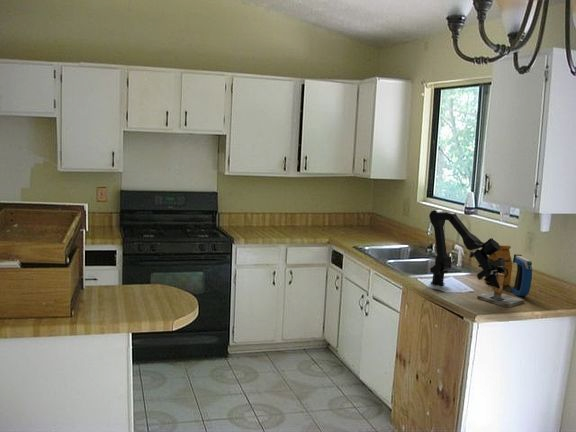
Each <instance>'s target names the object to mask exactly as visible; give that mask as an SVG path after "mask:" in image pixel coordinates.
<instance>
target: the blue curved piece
mask: <svg viewBox="0 0 576 432" xmlns="http://www.w3.org/2000/svg"><path fill="white" fill-rule="evenodd" d="M512 264H516V267H517V268H516V274H515V280H514V286H510V290H509V291H510V292H511V293H512V294H514V295H515V296H517V297H527V296H528V295H529V293H530V292H531V291H530V290H531V287H532V286H531V285H532V278H533V266H532V264H533V263H532V260H529V259H527V258H526V257H524V256H523V255H522V254H517V253H515V254H513V259H512Z"/></svg>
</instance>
